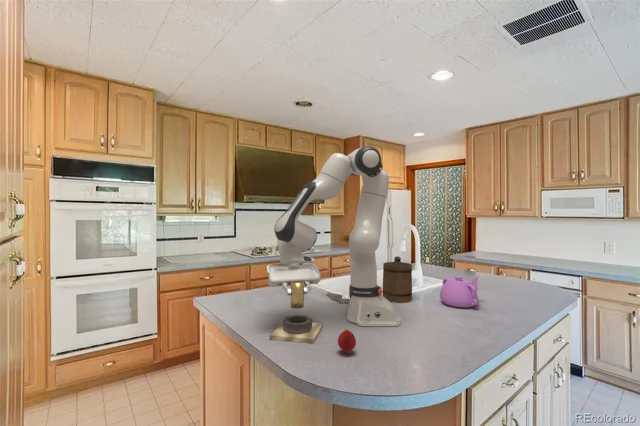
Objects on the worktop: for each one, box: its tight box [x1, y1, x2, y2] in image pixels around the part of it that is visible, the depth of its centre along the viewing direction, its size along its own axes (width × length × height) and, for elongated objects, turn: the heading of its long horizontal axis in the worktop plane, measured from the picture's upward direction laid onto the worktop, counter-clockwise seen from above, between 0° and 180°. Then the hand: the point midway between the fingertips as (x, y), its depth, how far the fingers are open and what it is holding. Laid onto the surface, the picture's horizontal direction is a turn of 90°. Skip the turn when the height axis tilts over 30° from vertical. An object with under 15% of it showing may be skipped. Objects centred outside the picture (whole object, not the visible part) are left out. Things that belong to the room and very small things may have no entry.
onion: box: [337, 327, 357, 354], centre depth 103 cm, size 6×6×8 cm
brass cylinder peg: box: [290, 281, 305, 310], centre depth 120 cm, size 5×5×9 cm
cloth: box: [325, 292, 350, 306], centre depth 167 cm, size 26×14×2 cm, turn 13°
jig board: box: [269, 314, 324, 344], centre depth 120 cm, size 16×16×5 cm
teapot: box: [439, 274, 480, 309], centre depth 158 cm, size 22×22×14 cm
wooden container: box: [382, 256, 413, 304], centre depth 167 cm, size 15×15×22 cm
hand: (297, 293), depth 119 cm, fingers closed on brass cylinder peg, 5 cm apart
